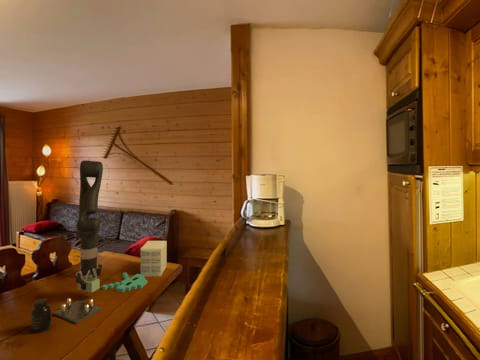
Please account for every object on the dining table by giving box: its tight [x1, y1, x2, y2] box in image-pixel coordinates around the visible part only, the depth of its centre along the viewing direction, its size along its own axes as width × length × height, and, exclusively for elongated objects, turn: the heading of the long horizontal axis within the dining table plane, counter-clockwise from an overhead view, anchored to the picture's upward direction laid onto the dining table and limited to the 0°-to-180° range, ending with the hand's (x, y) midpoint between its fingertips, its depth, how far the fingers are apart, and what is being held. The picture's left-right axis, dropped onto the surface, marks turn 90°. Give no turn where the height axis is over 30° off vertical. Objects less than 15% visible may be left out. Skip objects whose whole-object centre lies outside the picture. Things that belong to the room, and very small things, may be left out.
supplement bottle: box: [30, 297, 52, 334], centre depth 113 cm, size 7×7×12 cm
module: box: [77, 277, 101, 293], centre depth 140 cm, size 9×5×5 cm, turn 73°
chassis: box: [53, 297, 102, 325], centre depth 125 cm, size 16×12×5 cm
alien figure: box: [101, 272, 148, 293], centre depth 157 cm, size 20×2×20 cm
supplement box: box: [140, 240, 168, 277], centre depth 175 cm, size 17×13×18 cm
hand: (88, 287), depth 140 cm, fingers closed on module, 5 cm apart
